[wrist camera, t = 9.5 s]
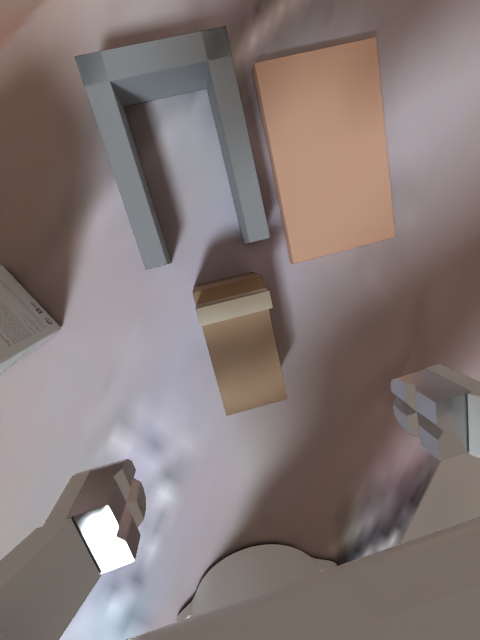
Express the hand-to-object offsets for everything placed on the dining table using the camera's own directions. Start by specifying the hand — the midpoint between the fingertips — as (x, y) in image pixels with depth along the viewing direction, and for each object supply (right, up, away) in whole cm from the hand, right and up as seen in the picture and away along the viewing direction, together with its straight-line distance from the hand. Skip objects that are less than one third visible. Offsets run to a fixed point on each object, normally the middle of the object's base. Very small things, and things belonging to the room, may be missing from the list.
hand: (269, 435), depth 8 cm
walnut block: (-1, +2, +16) cm, 16 cm away
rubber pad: (+6, +16, +14) cm, 22 cm away
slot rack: (-5, +14, +13) cm, 19 cm away
